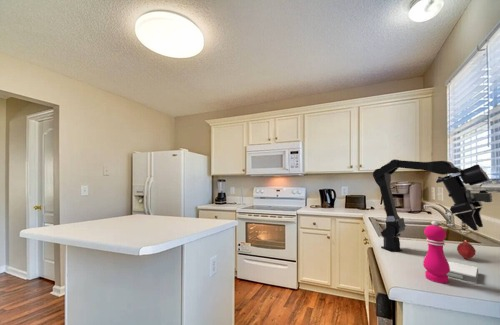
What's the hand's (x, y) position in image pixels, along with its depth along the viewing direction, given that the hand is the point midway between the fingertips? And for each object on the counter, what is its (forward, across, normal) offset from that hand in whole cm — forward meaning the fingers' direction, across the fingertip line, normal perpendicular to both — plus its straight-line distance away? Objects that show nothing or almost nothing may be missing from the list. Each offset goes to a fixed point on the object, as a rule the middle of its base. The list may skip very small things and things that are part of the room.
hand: (478, 228), depth 88 cm
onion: (+12, +12, +12) cm, 21 cm away
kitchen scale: (+13, -10, +10) cm, 19 cm away
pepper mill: (+12, -22, +13) cm, 28 cm away
